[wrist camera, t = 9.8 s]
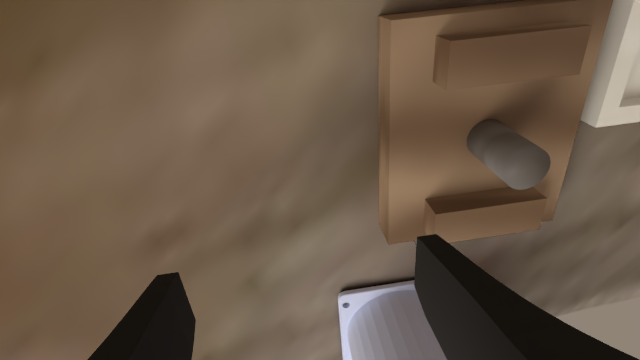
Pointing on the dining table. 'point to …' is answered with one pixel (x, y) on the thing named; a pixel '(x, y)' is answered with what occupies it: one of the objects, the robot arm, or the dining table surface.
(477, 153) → the vise block
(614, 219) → the dining table surface
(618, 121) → the dish
